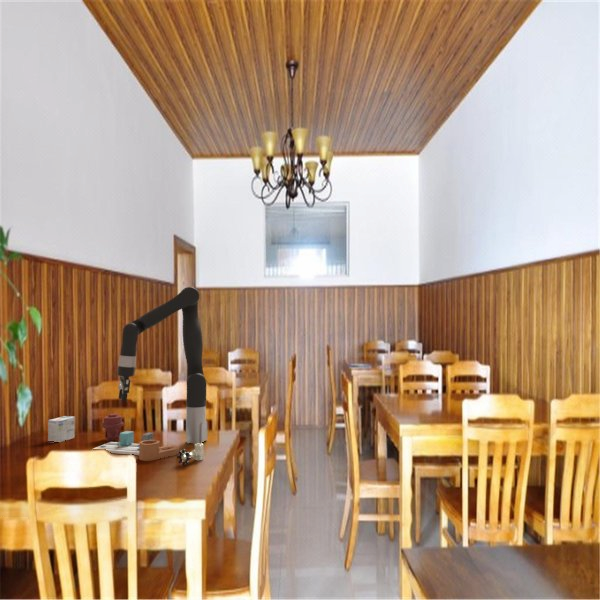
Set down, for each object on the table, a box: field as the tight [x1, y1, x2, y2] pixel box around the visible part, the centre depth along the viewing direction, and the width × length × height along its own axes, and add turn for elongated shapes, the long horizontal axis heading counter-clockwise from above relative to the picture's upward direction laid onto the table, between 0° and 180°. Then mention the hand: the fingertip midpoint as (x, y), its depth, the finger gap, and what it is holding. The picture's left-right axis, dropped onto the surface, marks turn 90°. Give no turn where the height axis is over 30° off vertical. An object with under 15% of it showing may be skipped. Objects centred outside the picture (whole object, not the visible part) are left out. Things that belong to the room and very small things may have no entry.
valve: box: [176, 443, 205, 467], centre depth 204 cm, size 7×7×12 cm
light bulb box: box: [47, 415, 76, 443], centre depth 241 cm, size 11×7×11 cm, turn 160°
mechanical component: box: [101, 413, 125, 442], centre depth 242 cm, size 12×10×10 cm
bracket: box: [138, 439, 180, 462], centre depth 213 cm, size 18×8×7 cm, turn 136°
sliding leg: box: [117, 430, 135, 448], centre depth 224 cm, size 4×9×5 cm, turn 165°
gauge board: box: [92, 441, 139, 456], centre depth 223 cm, size 25×13×2 cm, turn 75°
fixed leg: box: [138, 431, 155, 447], centre depth 221 cm, size 3×9×6 cm, turn 165°
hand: (122, 400), depth 228 cm, fingers open, 8 cm apart
